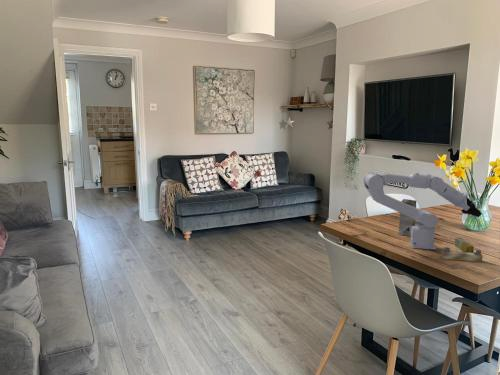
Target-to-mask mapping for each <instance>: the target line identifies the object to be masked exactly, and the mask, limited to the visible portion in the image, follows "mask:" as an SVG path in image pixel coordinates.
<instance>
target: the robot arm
mask: <svg viewBox="0 0 500 375" xmlns="http://www.w3.org/2000/svg"><path fill="white" fill-rule="evenodd" d="M390 183H393V184H395V183H396V184H407V185H408V186H409V187H410V188H417V189H429V190H432V191H434V192H435V193H437V195H438V196H441V198H442V199H445V200H446V201H448V202H450V203H451V204H452V205H454V206H455V207H457V208H460V209H462V210H461V214H464V215H470V216H474V217H476V218H480V216H482V215H483V213H482V212H481V210H479V209H478V208H477V206H476V204H475V203H474V202H473V201H472V200H470V199H469V197H468V195H469V194H468V192H463V193H462V192H461V191H459V190H458V189H456V188H455V187H453V186H452V185H450V184H449V183H446V182H445V181H444V180H443V178H441V177H439V176H436V175H432V174H427V173H426V174H420V173H418V172H414V173H411V174H409V175H408V176H407V175H402V174H394V173H386V172H376V173H374V172H369V173H367V174H365V175H364V177H363V185H364V188H365V189H366V190H367V192H368V194H369V195H370V197H371V198H372V200H373V201H375V202H376V203H378V204H380V205H382V206H385V207H386V208H389V209H391V210H393V211H395V212H398V213H399V214H400V213H402V214H404V215H406V216H409V217H411V218H413V219H415V221H416V222H417V224H416V225H415V226H412V229H411V236H410V241H409V242H410V246H411V248H412V249H422V250H423V249H424V250H436V249H437V248H436V246H435V233H436V227H437V226H438V224H439V218H438V216H437V215H435V214H433V213H432V212H430V211H428V210H427V209H421V208H420V209H419V208H417V207H416V208H414V207H412V206H410V205H408V204H405V203H403V202H401V201H402V200H398V199H396V198H394V197H392V196H389V194H388V195H387V194H385V191H384V186H387V185H389V184H390Z"/></svg>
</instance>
